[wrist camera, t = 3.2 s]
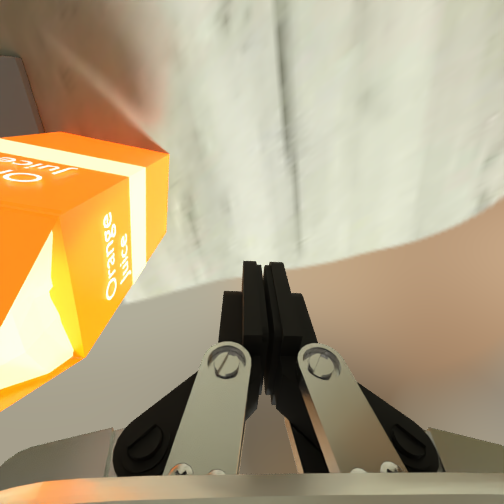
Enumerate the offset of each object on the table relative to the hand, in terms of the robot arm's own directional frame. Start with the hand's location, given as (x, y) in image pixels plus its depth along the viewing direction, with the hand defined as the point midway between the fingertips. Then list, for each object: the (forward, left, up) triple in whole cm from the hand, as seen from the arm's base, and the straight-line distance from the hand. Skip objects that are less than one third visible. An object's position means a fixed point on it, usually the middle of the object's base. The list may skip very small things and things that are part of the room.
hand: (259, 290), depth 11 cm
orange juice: (0, -12, -14) cm, 19 cm away
